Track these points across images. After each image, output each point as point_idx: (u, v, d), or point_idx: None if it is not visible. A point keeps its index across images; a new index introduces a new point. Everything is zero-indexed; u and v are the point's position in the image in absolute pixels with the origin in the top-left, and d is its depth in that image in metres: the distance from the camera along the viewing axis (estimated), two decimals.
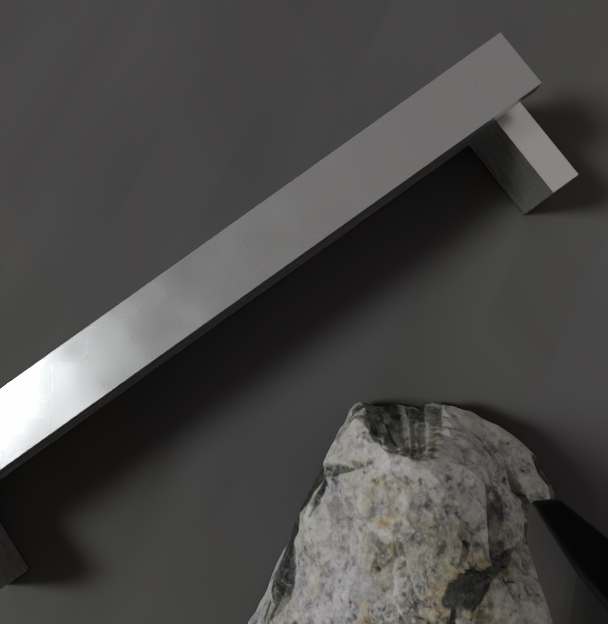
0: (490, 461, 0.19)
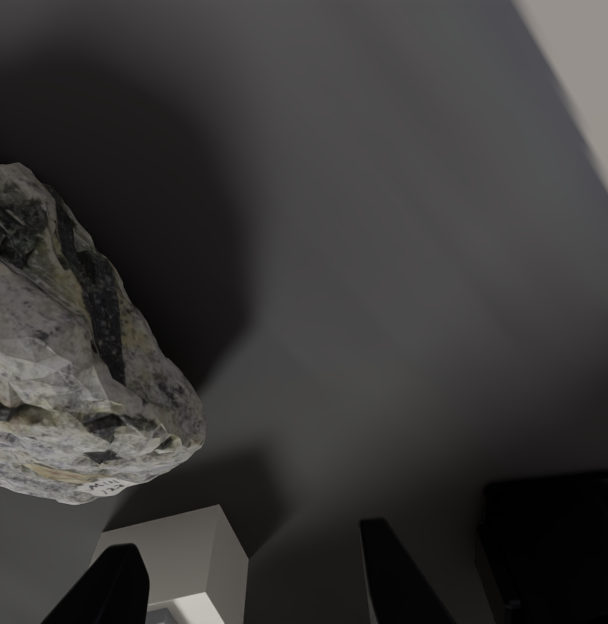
0: None
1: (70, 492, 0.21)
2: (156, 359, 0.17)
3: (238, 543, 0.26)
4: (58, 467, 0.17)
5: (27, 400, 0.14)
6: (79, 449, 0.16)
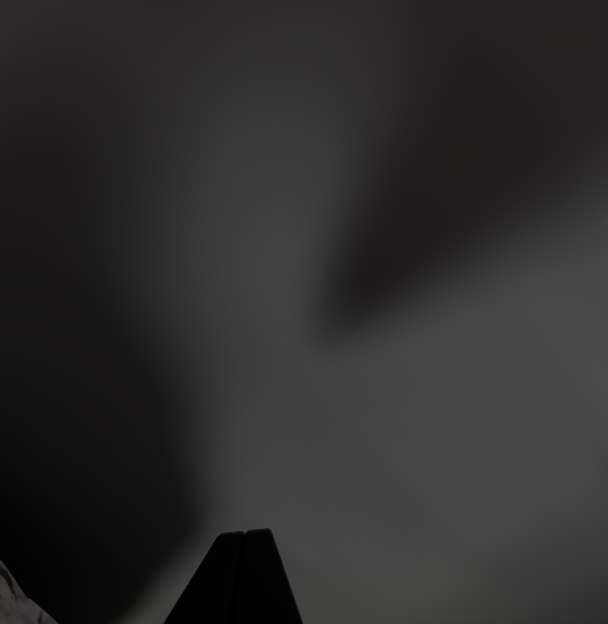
0: None
1: None
2: None
3: None
4: None
5: None
6: None
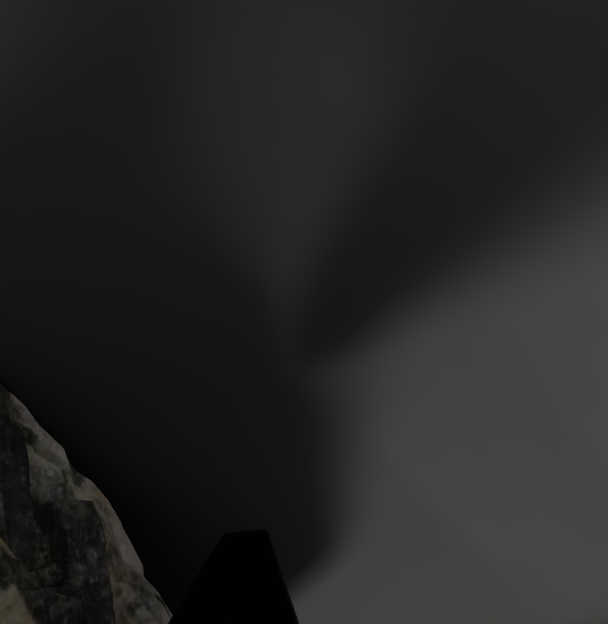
0: None
1: None
2: None
3: None
4: None
5: None
6: None
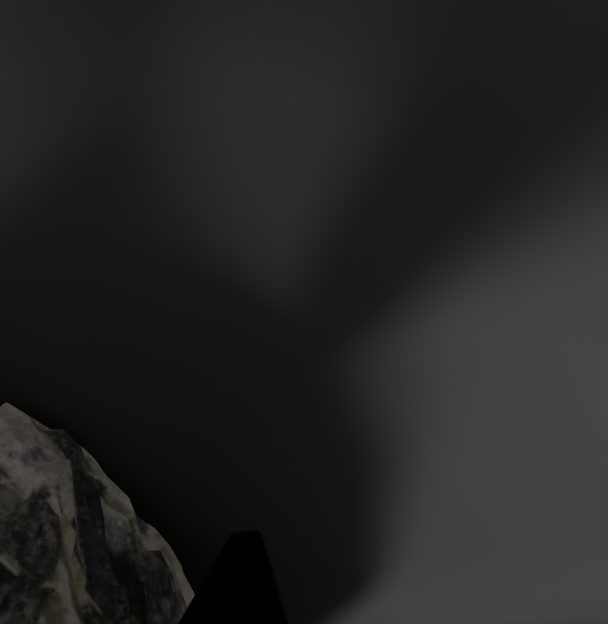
0: None
1: None
2: None
3: None
4: None
5: None
6: None
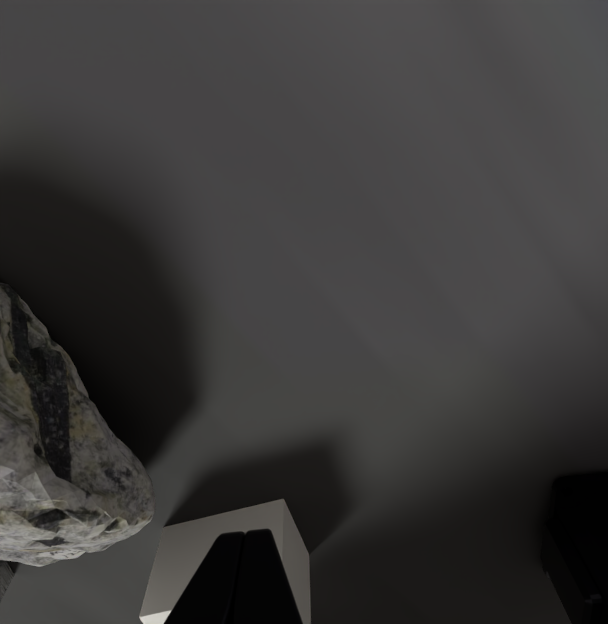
0: None
1: (32, 558, 0.22)
2: (104, 446, 0.19)
3: (300, 538, 0.25)
4: (12, 549, 0.18)
5: None
6: (28, 538, 0.17)
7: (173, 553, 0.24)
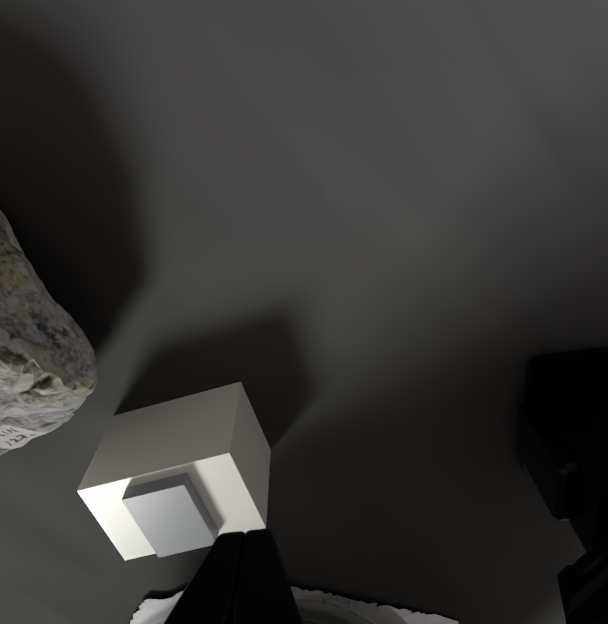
0: None
1: None
2: (37, 300, 0.17)
3: (260, 429, 0.24)
4: None
5: None
6: None
7: (120, 435, 0.22)
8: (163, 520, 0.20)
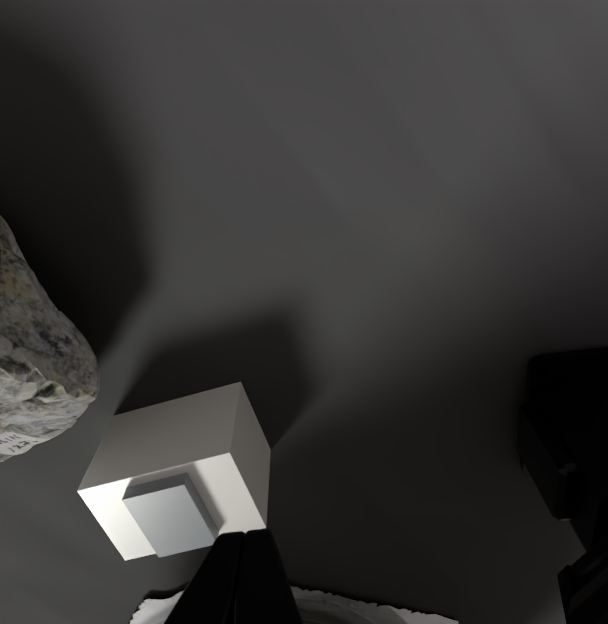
0: None
1: None
2: (39, 308, 0.17)
3: (260, 429, 0.24)
4: None
5: None
6: None
7: (120, 436, 0.22)
8: (163, 520, 0.20)
